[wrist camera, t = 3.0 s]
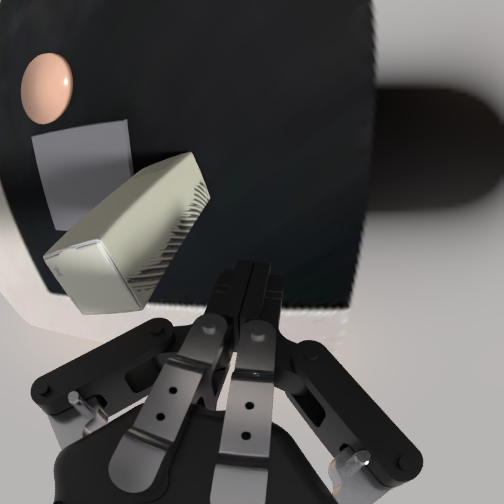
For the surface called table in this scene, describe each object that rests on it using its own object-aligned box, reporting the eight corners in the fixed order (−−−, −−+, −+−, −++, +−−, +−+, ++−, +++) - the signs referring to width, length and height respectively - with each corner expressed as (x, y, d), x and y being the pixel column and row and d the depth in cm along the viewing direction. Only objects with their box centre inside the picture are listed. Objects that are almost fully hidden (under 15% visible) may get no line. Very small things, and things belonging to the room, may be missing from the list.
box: (161, 211, 25) (79, 318, 15) (141, 167, 23) (37, 258, 13) (215, 197, 24) (145, 315, 13) (195, 147, 21) (96, 239, 11)
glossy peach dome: (24, 64, 18) (18, 65, 17) (70, 43, 17) (64, 44, 16) (31, 126, 22) (25, 129, 21) (76, 115, 21) (71, 118, 20)
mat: (35, 135, 22) (31, 136, 22) (126, 119, 21) (123, 121, 20) (59, 226, 29) (55, 229, 28) (145, 234, 27) (142, 237, 27)
